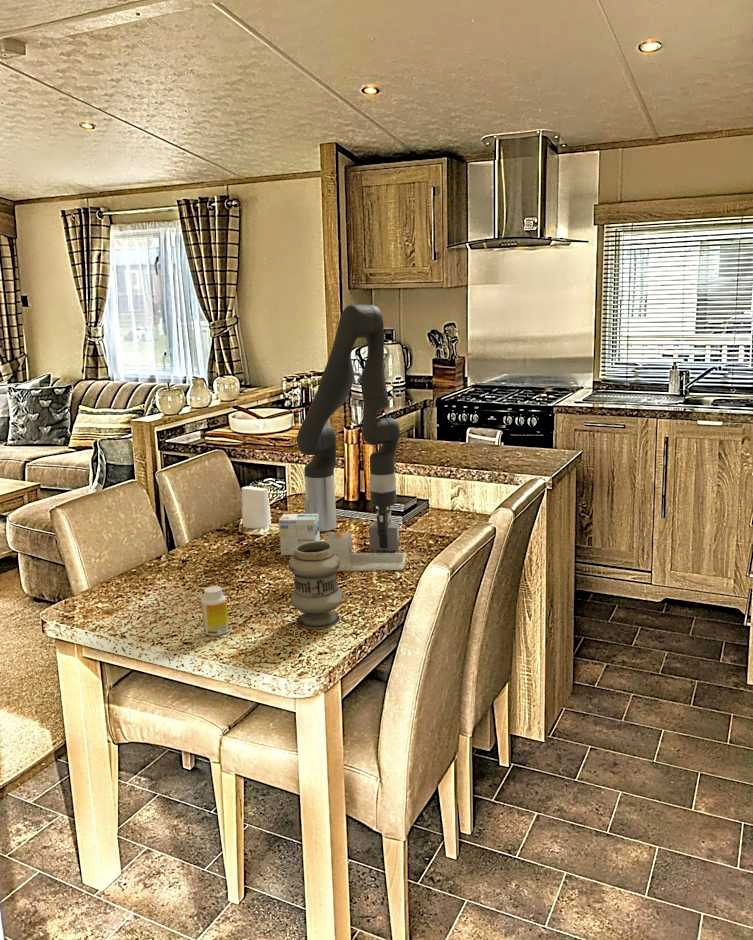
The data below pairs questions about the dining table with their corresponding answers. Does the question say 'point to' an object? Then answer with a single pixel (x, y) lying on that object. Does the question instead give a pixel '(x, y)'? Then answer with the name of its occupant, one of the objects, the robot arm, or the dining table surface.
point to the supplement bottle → (214, 611)
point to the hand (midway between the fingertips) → (384, 543)
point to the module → (391, 536)
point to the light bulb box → (297, 531)
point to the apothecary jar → (315, 584)
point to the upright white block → (255, 507)
